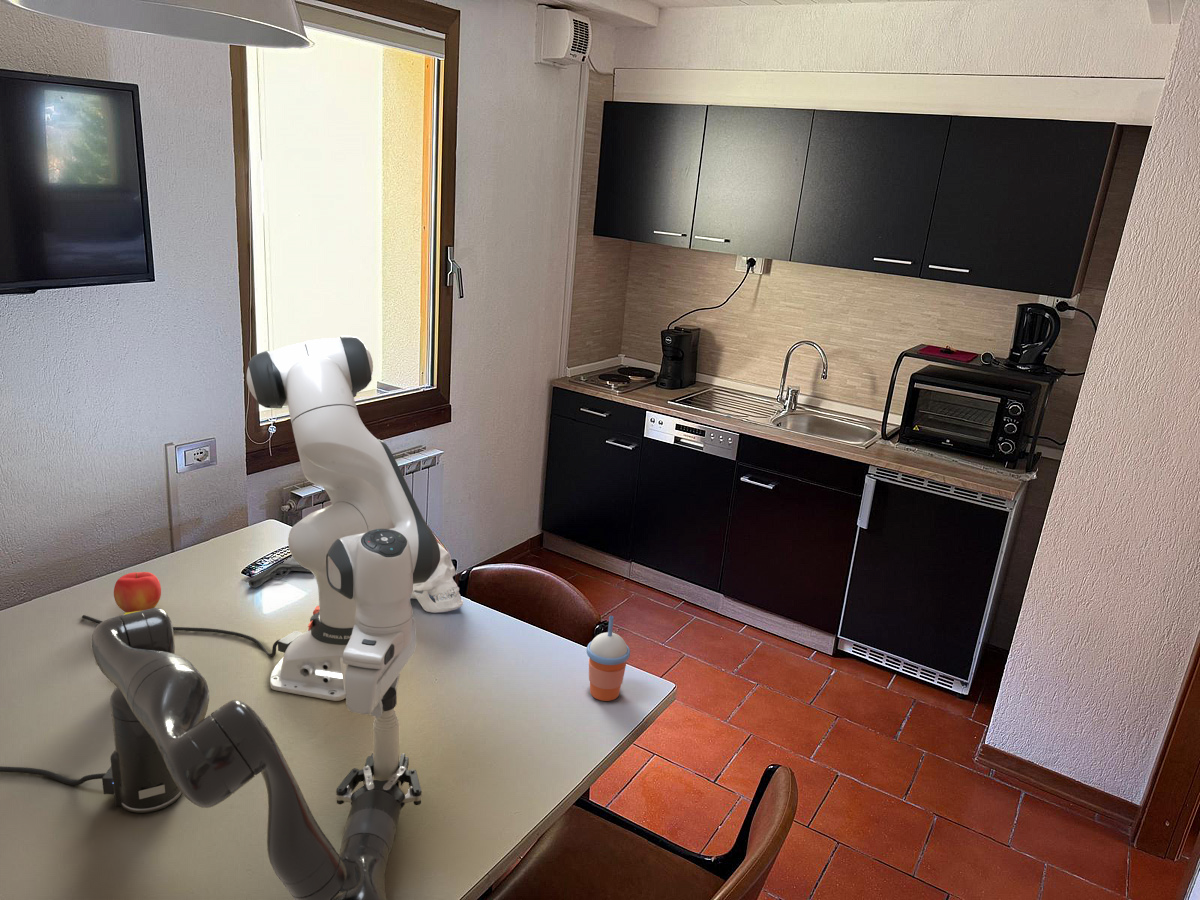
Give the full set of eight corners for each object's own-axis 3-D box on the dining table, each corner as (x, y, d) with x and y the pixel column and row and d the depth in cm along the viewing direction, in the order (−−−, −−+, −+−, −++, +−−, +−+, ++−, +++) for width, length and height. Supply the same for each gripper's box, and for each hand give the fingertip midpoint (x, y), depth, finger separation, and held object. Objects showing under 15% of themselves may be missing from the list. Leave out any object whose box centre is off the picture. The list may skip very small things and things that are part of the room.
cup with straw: (621, 709, 175) (629, 631, 170) (578, 700, 177) (585, 623, 172) (629, 685, 184) (636, 610, 179) (588, 677, 185) (594, 603, 180)
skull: (448, 622, 203) (451, 561, 199) (372, 599, 211) (374, 540, 207) (477, 602, 215) (480, 543, 211) (405, 581, 223) (406, 524, 219)
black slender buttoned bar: (292, 594, 211) (247, 586, 213) (325, 565, 228) (283, 558, 229) (291, 586, 211) (246, 578, 212) (325, 557, 227) (283, 550, 229)
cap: (391, 713, 138) (391, 701, 137) (368, 709, 138) (368, 697, 137) (400, 699, 141) (400, 688, 141) (377, 696, 142) (377, 684, 141)
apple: (166, 618, 196) (163, 578, 193) (118, 627, 190) (114, 586, 187) (159, 600, 203) (156, 561, 200) (113, 608, 198) (109, 569, 195)
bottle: (372, 792, 147) (371, 692, 141) (397, 788, 148) (397, 688, 142) (374, 808, 143) (373, 706, 137) (400, 804, 144) (400, 703, 138)
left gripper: (418, 810, 130) (431, 739, 146) (321, 809, 128) (346, 738, 145) (417, 850, 132) (430, 776, 148) (323, 849, 131) (346, 775, 147)
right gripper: (390, 598, 146) (389, 669, 150) (337, 660, 127) (338, 739, 131) (425, 603, 145) (424, 674, 149) (377, 666, 126) (377, 746, 130)
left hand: (388, 757), depth 146 cm, fingers closed on bottle, 4 cm apart
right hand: (383, 705), depth 140 cm, fingers closed on cap, 4 cm apart
